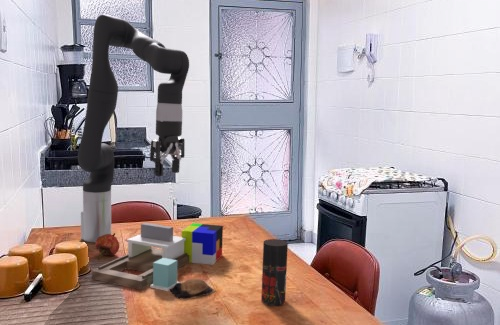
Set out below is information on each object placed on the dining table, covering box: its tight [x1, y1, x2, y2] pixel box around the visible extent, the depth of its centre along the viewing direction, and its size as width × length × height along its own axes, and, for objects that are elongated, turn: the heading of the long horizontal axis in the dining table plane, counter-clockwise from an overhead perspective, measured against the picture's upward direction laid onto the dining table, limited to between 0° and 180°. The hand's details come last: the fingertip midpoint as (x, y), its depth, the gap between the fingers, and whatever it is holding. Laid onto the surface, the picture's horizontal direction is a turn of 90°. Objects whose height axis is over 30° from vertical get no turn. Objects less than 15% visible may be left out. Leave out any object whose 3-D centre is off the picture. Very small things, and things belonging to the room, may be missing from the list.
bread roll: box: [169, 278, 217, 300], centre depth 123 cm, size 11×8×4 cm
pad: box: [149, 281, 180, 292], centre depth 126 cm, size 6×6×1 cm
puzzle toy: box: [181, 222, 224, 266], centre depth 149 cm, size 10×10×10 cm
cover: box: [126, 222, 186, 260], centre depth 143 cm, size 14×10×9 cm
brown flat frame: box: [91, 247, 190, 290], centre depth 138 cm, size 16×25×3 cm, turn 157°
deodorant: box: [260, 238, 289, 307], centre depth 118 cm, size 6×6×15 cm
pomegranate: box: [95, 232, 120, 260], centre depth 148 cm, size 7×7×10 cm
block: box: [152, 258, 178, 288], centre depth 126 cm, size 4×4×6 cm
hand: (167, 174), depth 141 cm, fingers open, 8 cm apart
